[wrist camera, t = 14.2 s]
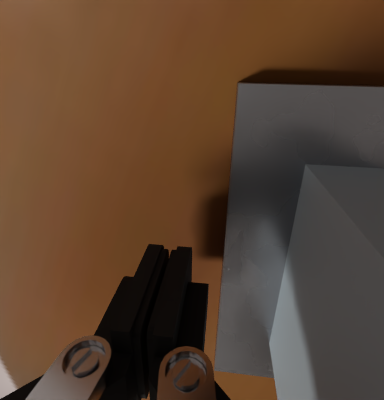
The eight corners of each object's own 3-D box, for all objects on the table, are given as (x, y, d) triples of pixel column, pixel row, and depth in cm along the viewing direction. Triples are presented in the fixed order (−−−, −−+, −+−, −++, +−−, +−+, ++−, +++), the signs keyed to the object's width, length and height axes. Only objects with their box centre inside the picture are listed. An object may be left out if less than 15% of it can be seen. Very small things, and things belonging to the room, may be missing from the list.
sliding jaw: (322, 349, 13) (411, 607, 7) (269, 343, 13) (306, 587, 7) (382, 168, 9) (710, 376, 3) (305, 164, 10) (457, 348, 3)
